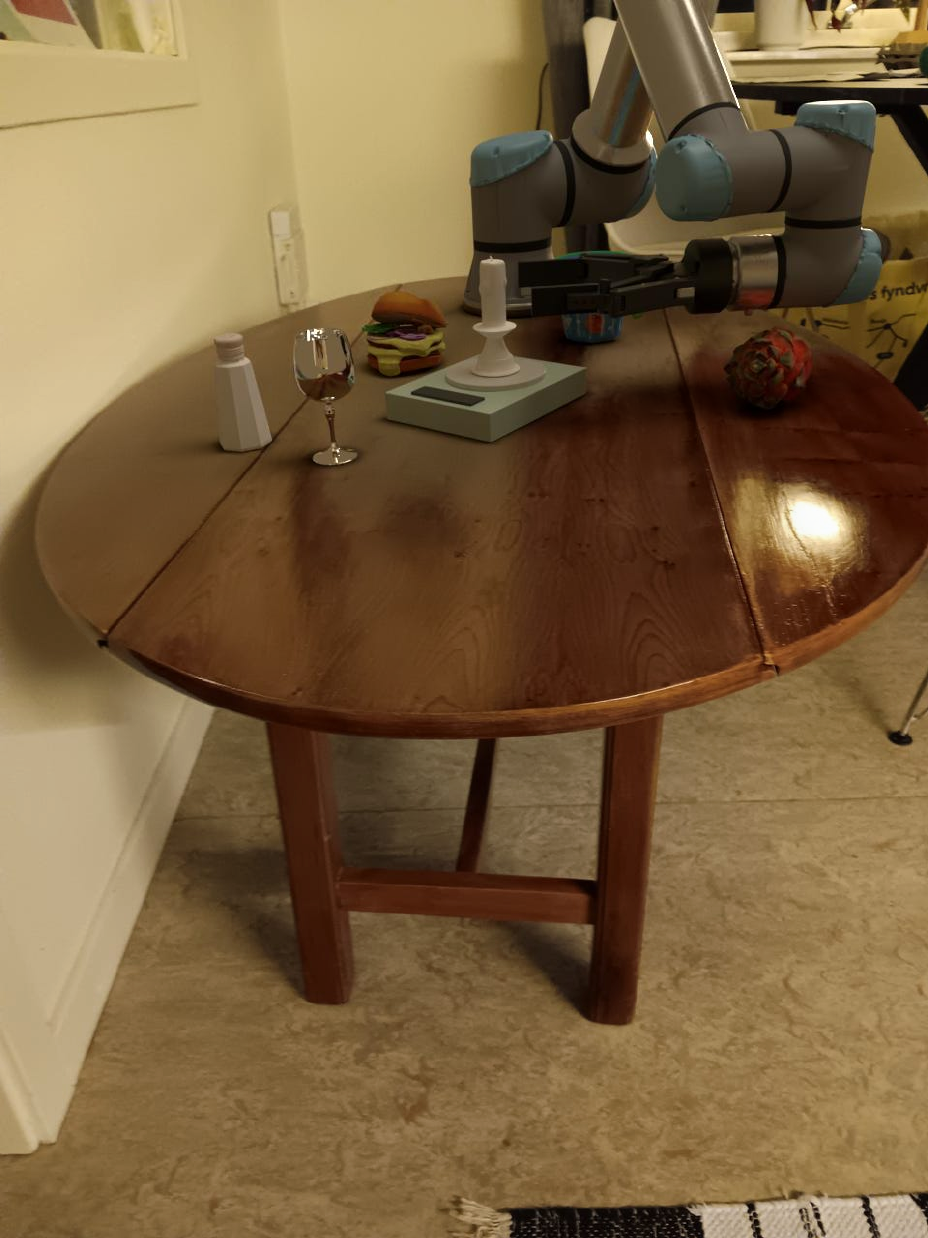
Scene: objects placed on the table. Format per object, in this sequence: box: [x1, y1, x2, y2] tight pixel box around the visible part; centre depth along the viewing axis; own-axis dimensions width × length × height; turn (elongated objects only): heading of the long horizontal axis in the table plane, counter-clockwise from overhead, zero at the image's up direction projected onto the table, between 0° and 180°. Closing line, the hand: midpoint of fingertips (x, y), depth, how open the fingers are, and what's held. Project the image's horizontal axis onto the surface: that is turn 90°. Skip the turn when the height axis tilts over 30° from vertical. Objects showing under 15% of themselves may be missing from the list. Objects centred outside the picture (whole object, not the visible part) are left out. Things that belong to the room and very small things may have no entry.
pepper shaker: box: [213, 332, 273, 453], centre depth 96 cm, size 5×5×11 cm
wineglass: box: [292, 327, 359, 466], centre depth 91 cm, size 6×6×12 cm
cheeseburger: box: [361, 290, 449, 377], centre depth 119 cm, size 10×11×10 cm
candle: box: [471, 256, 520, 377], centre depth 101 cm, size 5×5×12 cm
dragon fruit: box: [723, 325, 813, 410], centre depth 100 cm, size 8×8×12 cm
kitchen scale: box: [384, 353, 587, 443], centre depth 104 cm, size 18×14×4 cm
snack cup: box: [554, 250, 646, 344], centre depth 125 cm, size 16×10×10 cm
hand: (524, 287), depth 100 cm, fingers open, 13 cm apart
